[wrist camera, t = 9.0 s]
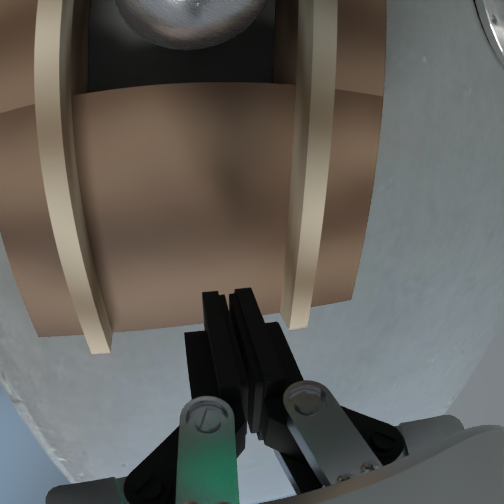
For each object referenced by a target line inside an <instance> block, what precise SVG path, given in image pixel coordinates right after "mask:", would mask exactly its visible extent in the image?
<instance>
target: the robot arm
mask: <svg viewBox="0 0 504 504" xmlns="http://www.w3.org/2000/svg"><path fill="white" fill-rule="evenodd" d="M475 3H476V6H477V10H478V13H479V17H480V20H481V22H482V25H483V28H484V31H485V33H486V35H487V38H488V40H489V42H490V44H491V46H492V48H493V50H494V52H495V54H496V56H497V57H498V58H499V60H500V61H501V63H502V64H503V66H504V0H475ZM202 302H203V315H204V327H205V331H195V332H185V333H184V335H185V346H186V355H187V364H188V373H189V381H190V389H191V397H192V400H191V401H190V402H188V403H187V404H186V405H185V406H184V408H183V409H182V412H181V415H180V425H179V426H178V427H177V428H176V429H175V430H174V431H173V432H172V433H171V434H170V435H169V436H168V437H167V438H166V439H165V440H164V441H163V442H162V443H161V444H160V445H159V446H158V447H157V448H156V449H155V450H154V451H153V452H152V453H151V454H150V455H149V456H148V457H147V458H146V459H145V460H143V461H142V462H141V463H140V464H139V465H138V466H137V467H136V468H135V469H134V470H133V471H132V472H131V473H130V474H129V475H128V476H127V477H122V478H117V479H116V478H115V477H110V478H105V479H100V480H94V481H88V482H81V483H75V484H67V485H59V486H57V487H53V488H52V489H51V490H50V491H49V492H48V494H47V496H46V504H239V491H238V476H237V457H238V456H239V455H240V454H241V452H242V451H243V450H244V449H245V435H246V434H247V421H248V425H249V429H250V432H251V433H257V436H258V439H259V440H264V443H265V445H267V446H269V447H271V448H273V449H274V452H275V455H276V457H277V459H278V461H279V462H280V464H281V466H282V468H283V470H284V472H285V474H286V476H287V477H288V479H289V481H290V483H291V485H292V487H293V488H294V490H295V492H296V494H297V495H295V496H291V497H287V498H283V499H278V500H274V501H269V502H264V503H259V504H504V427H503V426H499V425H482V426H476V427H472V428H468V429H465V430H464V427H463V425H462V423H461V422H460V420H459V419H457V418H456V417H454V416H451V415H442V416H437V417H432V418H427V419H422V420H416V421H411V422H405V423H400V424H399V426H392V425H390V424H388V423H385V422H382V421H379V420H376V419H374V418H371V417H368V416H366V415H363V414H360V413H358V412H355V411H353V410H350V409H348V408H345V407H343V406H340V405H339V403H338V402H337V401H336V399H335V398H334V396H333V395H332V393H331V392H330V391H329V390H328V389H327V388H326V387H325V386H324V385H322V384H320V383H318V382H315V381H308V380H303V378H302V375H301V373H300V371H299V368H298V366H297V364H296V361H295V359H294V357H293V354H292V352H291V350H290V348H289V345H288V343H287V341H286V338H285V336H284V334H283V331H282V329H281V327H280V325H279V323H278V322H271V323H265V322H264V319H263V317H262V314H261V312H260V309H259V306H258V304H257V301H256V299H255V296H254V293H253V291H252V288H251V287H249V288H239V289H235V291H234V293H232V294H229V309H228V305H227V301H226V297H225V294H222V295H219V293H218V291H209V292H202Z"/></svg>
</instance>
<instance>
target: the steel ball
mask: <svg viewBox="0 0 504 504" xmlns="http://www.w3.org/2000/svg"><path fill="white" fill-rule="evenodd" d="M266 3H267V0H116V4H117V7H118V10H119V13H120V15H121V17H122V18H123V20H124V21H125V23H126V24H127V25H128V26H129V28H130V29H131V30H132V31H133V32H135V33H136V34H137V35H138V36H140V37H141V38H143V39H145V40H146V41H148V42H150V43H153V44H155V45H158V46H162V47H165V48H169V49H177V50H196V49H203V48H208V47H212V46H215V45H218V44H221V43H224V42H226V41H228V40H230V39H232V38H234V37H235V36H237V35H238V34H240V33H241V32H243V31H244V30H245V29H247V28H248V27H249V26H250V25H251V24H252V23H253V22H254V21H255V20H256V18H257V17H258V16H259V15H260V13H261V12H262V10H263V8H264V7H265V5H266Z"/></svg>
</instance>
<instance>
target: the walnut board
mask: <svg viewBox="0 0 504 504" xmlns="http://www.w3.org/2000/svg"><path fill="white" fill-rule="evenodd" d="M90 2H91V0H0V232H1V236H2V239H3V243H4V246H5V250H6V253H7V256H8V259H9V262H10V265H11V268H12V271H13V274H14V277H15V280H16V283H17V286H18V288H19V291H20V294H21V296H22V299H23V301H24V304H25V306H26V309H27V311H28V314H29V316H30V318H31V321H32V323H33V325H34V328H35V330H36V332H37V334H38V336H39V337H50V336H69V335H85V338H86V340H87V343H88V346H89V348H90V351H91V353H92V354H100V353H111V343H112V334H113V332H125V331H136V330H146V329H157V328H166V327H175V326H184V325H193V324H201V323H204V315H203V302H202V292H209V291H218V293H219V295H222V294H225V297H226V301H227V305H228V309H229V294H232V293H234V291H235V289H239V288H249V287H251V288H252V291H253V293H254V296H255V299H256V301H257V304H258V306H259V309H260V312H261V314H262V315H266V314H273V313H279V312H280V314H281V316H282V317H283V319H284V321H285V323H286V325H287V327H288V329H289V330H293V329H298V328H304V327H307V325H308V319H309V313H310V307H315V306H321V305H326V304H332V303H337V302H342V301H348V300H351V299H352V294H353V290H354V286H355V281H356V277H357V272H358V268H359V263H360V258H361V253H362V248H363V243H364V238H365V233H366V227H367V222H368V216H369V210H370V204H371V198H372V191H373V185H374V178H375V171H376V163H377V156H378V147H379V139H380V129H381V119H382V108H383V95H384V81H385V61H386V0H276V9H275V45H274V76H273V83H251V82H199V83H176V84H161V85H148V86H138V87H129V88H120V89H112V90H105V91H98V92H92V93H88V32H89V15H90Z"/></svg>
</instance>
